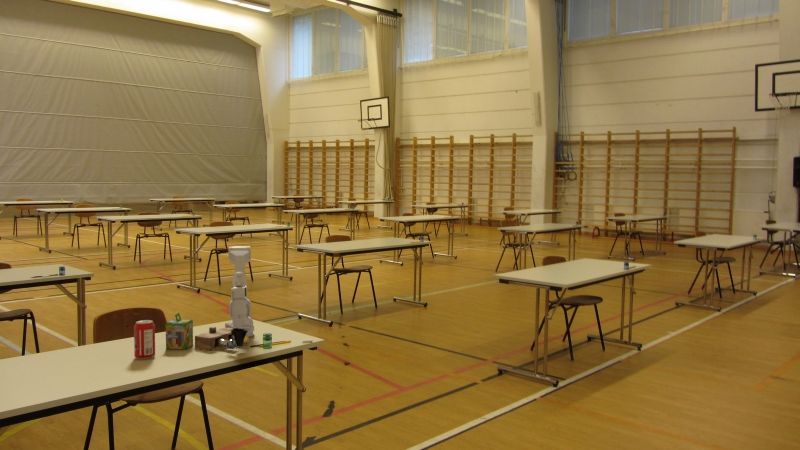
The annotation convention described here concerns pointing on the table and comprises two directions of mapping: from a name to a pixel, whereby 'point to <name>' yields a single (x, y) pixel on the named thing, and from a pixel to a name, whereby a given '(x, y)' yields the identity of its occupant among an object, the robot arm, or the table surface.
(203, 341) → the mount
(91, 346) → the table surface
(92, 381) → the table surface
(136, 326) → the soda can
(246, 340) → the knob mustard
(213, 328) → the dial
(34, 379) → the table surface
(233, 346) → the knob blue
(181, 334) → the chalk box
